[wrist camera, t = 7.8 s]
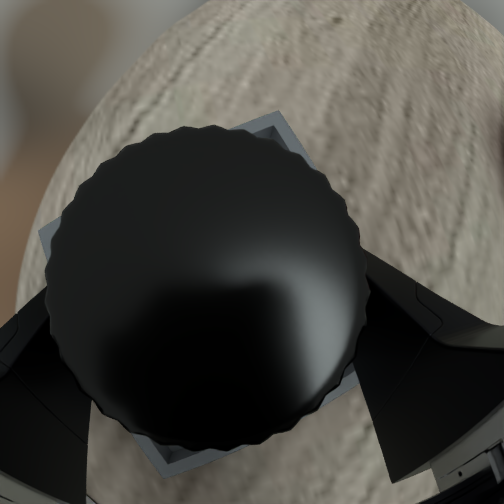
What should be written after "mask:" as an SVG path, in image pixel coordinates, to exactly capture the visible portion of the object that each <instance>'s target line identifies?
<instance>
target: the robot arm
mask: <svg viewBox="0 0 504 504" xmlns="http://www.w3.org/2000/svg"><path fill="white" fill-rule="evenodd" d="M362 249H363V248H362ZM363 251H364V252H365V254H366V257H367V259H368V264H367V270H366V278H367V281H368V284H369V287H370V291H371V293H370V296H369V300H368V302H367V305H366V307H365V310H366V316H367V326H366V328H365V330H364V331H363V333H362V334H361V336H360V337H359V339H358V351H357V357H356V358H355V359H354V360H353V361H352V363H353V366H354V369H355V372H356V375H357V377H358V380H359V383H360V386H361V389H362V392H363V395H364V398H365V400H366V403H367V406H368V409H369V412H370V415H371V418H372V421H373V425H374V428H375V431H376V434H377V437H378V441H379V444H380V447H381V450H382V453H383V457H384V460H385V463H386V466H387V470H388V473H389V477H390V480H391V482H392V484H393V483H396V482H399V481H401V480H404V479H406V478H409V477H411V476H414V475H416V474H418V473H421V472H423V471H425V470H428V469H430V468H431V469H432V472H433V474H434V477H435V480H436V483H437V486H438V489H439V492H440V493H438V494H436V495H434V496H432V497H430V498H428V499H426V500H423V501H421V502H419V503H417V504H504V326H499V325H493V324H490V323H487V322H485V321H483V320H481V319H479V318H478V317H476V316H474V315H472V314H471V313H469V312H467V311H465V310H464V309H462V308H460V307H458V306H456V305H455V304H453V303H451V302H449V301H448V300H446V299H444V298H442V297H441V296H439V295H437V294H436V293H434V292H432V291H431V290H429V289H428V288H426V287H424V286H423V285H421V284H420V283H418V282H416V281H415V280H413V279H412V278H410V277H409V276H407V275H405V274H404V273H402V272H401V271H399V270H397V269H396V268H394V267H393V266H391V265H389V264H388V263H386V262H384V261H383V260H381V259H380V258H378V257H376V256H375V255H373V254H371V253H370V252H368V251H366V250H365V249H363ZM46 290H47V286H46V287H45V288H44V289H43V290H41V291H40V292H39V293H38V294H37V295H36V296H35V297H34V298H32V299H31V300H30V301H29V302H28V303H27V304H26V305H25V306H24V307H23V308H22V309H20V310H19V311H18V314H15V315H14V316H13V317H12V318H11V319H10V320H9V321H8V322H7V323H6V324H4V325H3V326H2V327H1V328H0V504H86V474H87V450H88V445H87V444H88V433H89V421H90V411H91V401H92V399H90V398H89V397H87V396H85V395H84V394H83V393H81V392H80V391H79V389H78V387H77V385H76V382H75V379H74V377H73V375H72V374H71V373H70V372H69V371H68V370H67V369H66V368H65V367H64V366H63V364H62V363H61V359H60V354H59V347H58V345H57V344H56V342H55V341H54V340H53V338H52V336H51V334H50V316H49V313H48V311H47V309H46V305H45V302H44V301H45V294H46Z"/></svg>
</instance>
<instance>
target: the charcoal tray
mask: <svg viewBox="0 0 504 504" xmlns="http://www.w3.org/2000/svg"><path fill="white" fill-rule="evenodd" d="M234 129H245V130H247V131H248V132H250V133H252V134H253V135H255V136H256V137H260V138H269V139H274V140H275V141H276V142H278V143H279V144H280V145H281V146H282V147H283V148H284V149H285V150H288V151H291V152H295V153H298V154H301V156H302V157H303V158H304V159H305V160H306V162H307V163H308V164H309V166H310V167H311V168H313V169H315V170H317V169H316V167H315V166H314V164H313V162H312V161H311V159H310V158H309V156H308V154H307V153H306V151H305V150H304V148H303V146H302V145H301V143H300V142H299V140H298V139H297V137H296V135H295V134H294V132H293V131H292V129H291V128H290V126H289V125H288V123H287V122H286V120H285V119H284V117H283V116H282V114H281V113H280V111H279V110H278V111H275V112H273V113H270V114H267V115H264V116H262V117H259V118H256V119H254V120H251V121H249V122H246V123H244V124H241V125H239V126H236V127H234V128H231V129H229V130H234ZM60 222H61V216H60V217H58V218H57V219H55V220H54V221H52V222H50V223H49V224H47V225H46V226H44V227H43V228H41V229H40V230H38V233H39V236H40V240H41V243H42V246H43V249H44V253H45V256H46V259H47V262H48V260H49V258H50V256H51V249H50V245H51V239H52V237H53V235H54V234H55V232H56V231H57V229H58V228H59V226H60ZM357 384H359V380H358V377H357V375H356V372H355V369H354V366H353V363H351V364H350V365H349V366H348V367H347V368H346V369H345V371H344V375H343V379H342V381H341V384H340V386H339V387H337V388H336V389H335V390H334V391H332V392H330V393H329V394H327V395H326V397H325V399H324V400H323V402H322V404H321V406H320V407H319V408H321V407H322V406H324V405H326V404H327V403H329V402H331V401H332V400H334V399H336V398H337V397H339V396H340V395H342V394H344V393H345V392H347V391H348V390H350V389H351V388H353V387H354V386H356V385H357ZM306 416H307V415H306ZM304 417H305V416H304ZM302 418H303V417H302ZM302 418H301V419H302ZM131 434H132V436H133V437H134V439H135V440H136V442H137V443H138V445H139V446H140V447H141V449H142V450H143V452H144V453H145V455H146V456H147V457H148V459H149V460H150V461H151V463H152V464H153V465H154V467H155V468H156V469H157V471H158V472H159V473H160V475H161V476H162V477H163V479H165V478H168V477H171V476H174V475H177V474H180V473H183V472H186V471H188V470H191V469H194V468H197V467H199V466H202V465H204V464H207V463H209V462H212V461H214V460H217V459H219V458H222V457H224V456H226V455H229V454H231V453H233V452H235V451H238V450H240V449H242V448H244V447H246V446H249V445H241V446H239V447H237V448H235V449H233V450H230V451H228V452H225V451H218V450H216V449H206V450H202V451H197V452H192V451H189V450H186V449H184V448H182V447H180V446H160V445H159V444H157V443H155V442H154V441H152V440H151V439H150V438H148V437H147V436H142V435H137V434H133V433H131Z"/></svg>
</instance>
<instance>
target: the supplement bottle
mask: <svg viewBox="0 0 504 504" xmlns="http://www.w3.org/2000/svg"><path fill="white" fill-rule="evenodd" d="M50 249H51V256H50V258H49V260H48V263H47V265H46V268H45V277H46V281H47V290H46V294H45V301H44V302H45V305H46V309H47V311H48V313H49V316H50V334H51V336H52V338H53V340H54V341H55V342H56V344H57V345H58V347H59V354H60V359H61V363H62V364H63V366H64V367H65V368H66V369H67V370H68V371H69V372H70V373H71V374H72V375H73V377H74V379H75V382H76V385H77V387H78V389H79V391H80V392H81V393H83V394H84V395H85V396H87V397H89V398H90V399H92V400H93V401H94V402H95V404H96V406H97V408H98V409H99V410H100V412H101V413H102V414H103V415H105V416H107V417H109V418H112V419H115V420H117V421H118V422H119V423H120V424H121V425H122V426H123V427H124V428H125V429H126V430H127V431H129V432H130V433H133V434H137V435H142V436H147V437H148V438H150V439H151V440H152V441H154V442H155V443H157V444H159V445H160V446H180V447H182V448H184V449H186V450H189V451H192V452H197V451H202V450H206V449H216V450H218V451H225V452H228V451H230V450H233V449H235V448H237V447H239V446H241V445H258V444H261V443H263V442H264V441H266V440H267V439H268V438H270V437H271V436H272V435H273V434H277V433H283V432H287V431H290V430H291V429H292V428H293V427H294V426H295V425H296V424H297V423H298V422H299V420H300V419H301V418H302V417H304V416H306V415H309V414H312V413H314V412H316V411H317V410H318V409H319V407H320V406H321V404H322V402H323V400H324V399H325V397H326V395H327V394H329V393H330V392H332V391H334V390H335V389H336V388H337V387H339V386H340V384H341V381H342V379H343V375H344V371H345V369H346V368H347V367H348V366H349V365H350V364H351V363H352V361H353V360H354V359H355V358H356V357H357V351H358V339H359V337H360V336H361V334H362V333H363V331H364V330H365V328H366V326H367V316H366V310H365V307H366V305H367V302H368V300H369V296H370V293H371V291H370V287H369V284H368V281H367V278H366V270H367V264H368V259H367V257H366V254H365V252H364V251H363V249H362V247H361V246H360V233H359V228H358V226H357V225H356V223H355V222H354V221H353V220H352V219H351V218H350V216H349V215H348V212H347V206H346V203H345V200H344V199H343V198H342V197H341V196H340V195H339V194H338V193H336V192H335V191H334V190H332V188H331V186H330V183H329V181H328V179H327V178H326V176H325V175H324V174H323V173H321V172H319V171H318V170H315V169H313V168H311V167H310V166H309V164H308V163H307V162H306V160H305V159H304V158H303V157H302V156H301V154H298V153H295V152H291V151H288V150H285V149H284V148H283V147H282V146H281V145H280V144H279V143H278V142H276V141H275V140H274V139H269V138H260V137H256V136H255V135H253V134H252V133H250V132H248V131H247V130H245V129H234V130H227V129H224V128H222V127H219V126H216V125H211V126H206V127H203V128H199V129H198V128H193V127H185V126H183V127H180V128H178V129H176V130H173V131H171V132H169V133H153V134H152V135H150V136H149V137H147V138H146V139H145V140H144V141H142V142H141V143H135V144H131V145H128V146H125V147H124V148H123V149H122V150H121V151H120V152H119V154H118V155H117V156H116V157H114V158H112V159H109V160H107V161H105V162H103V163H101V164H100V165H99V167H98V168H97V170H96V172H95V173H94V175H93V176H92V177H91V178H89V179H88V180H86V181H85V182H83V183H82V184H81V185H80V186H79V188H78V190H77V192H76V194H75V197H74V200H73V201H72V202H71V203H70V204H69V205H68V206H67V207H66V208H65V209H64V210H63V212H62V215H61V222H60V226H59V228H58V229H57V231H56V232H55V234H54V235H53V237H52V239H51V245H50Z"/></svg>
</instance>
